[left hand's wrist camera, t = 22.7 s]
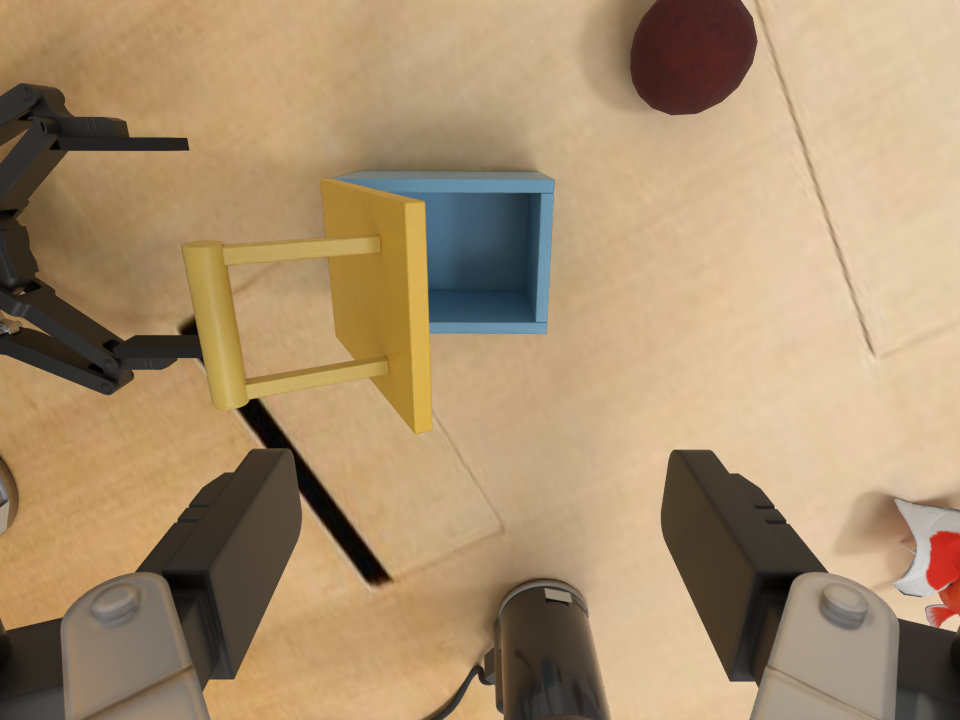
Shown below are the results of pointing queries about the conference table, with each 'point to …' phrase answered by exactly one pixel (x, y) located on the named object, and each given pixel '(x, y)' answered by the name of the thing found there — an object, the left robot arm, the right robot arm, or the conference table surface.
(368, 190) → the lid
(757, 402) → the conference table surface
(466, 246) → the chest
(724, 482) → the left robot arm
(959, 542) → the fish
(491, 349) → the conference table surface
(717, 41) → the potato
